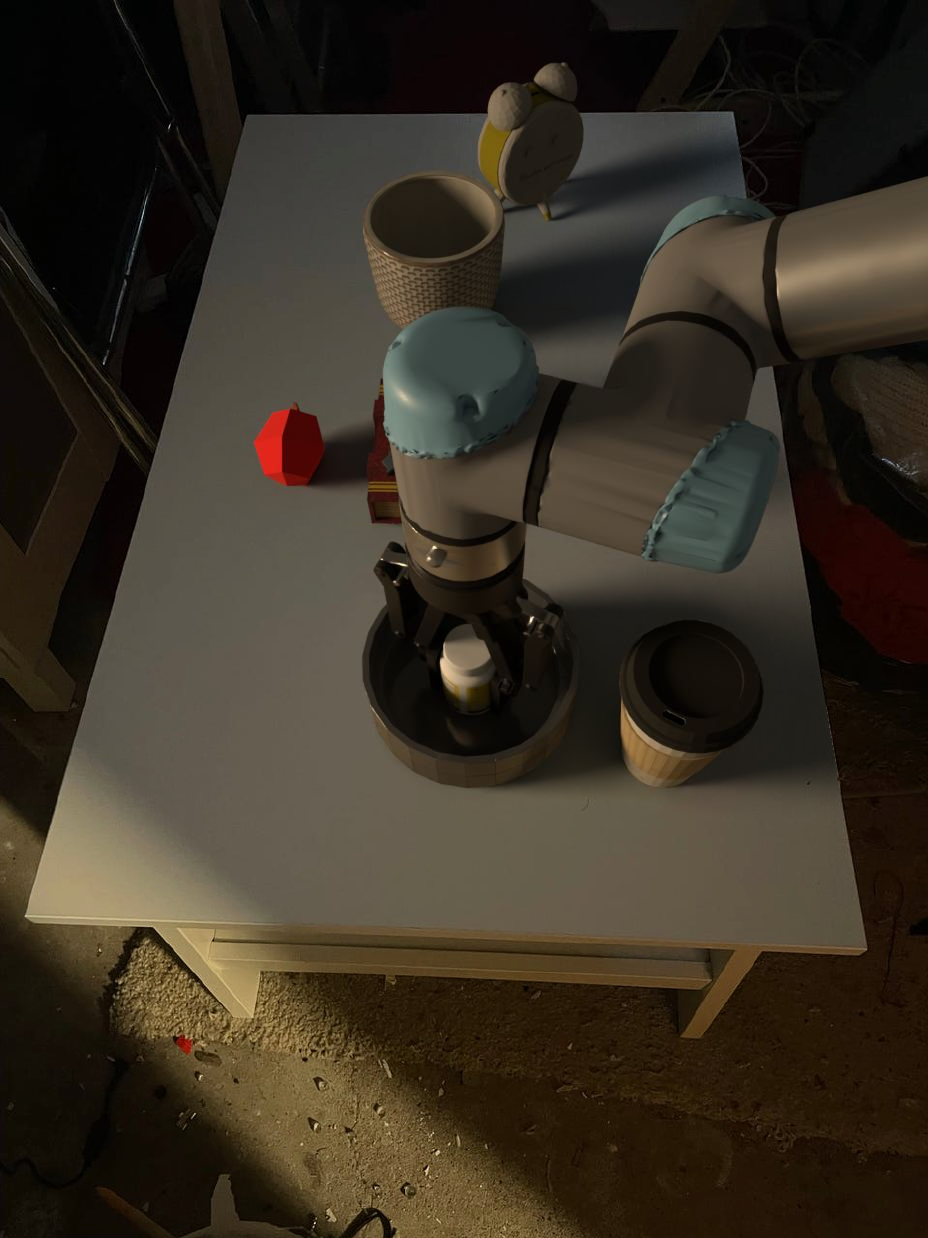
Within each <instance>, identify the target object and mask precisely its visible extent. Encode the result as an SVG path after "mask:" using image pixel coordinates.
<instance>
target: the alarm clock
mask: <svg viewBox="0 0 928 1238" xmlns="http://www.w3.org/2000/svg"><path fill="white" fill-rule="evenodd" d="M577 94H578V83H577V77H576V76H575V74H574V71H572V70H571V69H570V68H569V64H568V63H567V62H566V61H564V62H560V63H559V62H551V63H548V64H546V65H544V66H543V67H542V68H541V69H539V70H538V72H536V74H535V76H534V78H533V81H532V82H530V81H529V82H526V83H523V84H521V83H518V82H512V81H511V82H505V83H503V84H501V85H499V86H498V87H497V88H495V90H494V91H492V94H491V95H490V98H489V100H488V105H487V117H486V119H485V121H484V122H483V126H482V129H481V132H480V134H479V137H478V143H477V162H478V166H479V169H480V173H481V174H482V175H483V177H484V178H485V180H486V182H488V183H489V185H491V186H492V187H493V189H494V192H495V193H496V195H497V196H498V198H499V199H500V201H501V204H502V203H503V202H504V201H505V200H507V201H509V202H511V203H513V204H516V205H518V206H530V205H531V206H532V205H537V206H538V208H539V210H540V212H541V214H542V216H543V217H544V220H545V221H550V220H551V219H552V213H551V211H552V210H551V208H550V201H549V197H551V196H552V195H554V194H555V193H556V192H558V191H559V189H560V188H561V187H562V186H563V185H564V184H565V183H566V181H567V180H568V179H569V177H570V176H571V174H572V173H573V170H574V169H575V168H576V165H577V163H578V161H579V159H580V156H581V152H582V149H583V145H584V136H585V135H584V134H585V133H584V131H585V129H584V123H583V122H584V121H583V118H582V116H581V113H580V112H579V110H578V108H576V106H575V105H574V104H573V102H575V101H576V98H577ZM502 205H503V204H502Z"/></svg>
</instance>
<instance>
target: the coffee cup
mask: <svg viewBox="0 0 928 1238" xmlns="http://www.w3.org/2000/svg"><path fill="white" fill-rule="evenodd" d="M618 677H619V678H618V679H619V680H618V681H619V693H620V697H621V705H620V706H621V707H620V740H621V756H622V759H623V763H624V764H625V766H626V769H627V770H628V771H629V772H630V774H631V775H632V776H633V777H634V778H635V779H636V780H638V781H640V782H641V783H643V784H645V785H647V786H650V787H654V788H660V789H661V788H662V789H667V788H673V787H676V786H678V785H681V784H682V783H684V782H685V781H687V780H688V779H689V778H691V776H693V775H695V774H697V773H698V772H700V771H701V770H702V769H704V767H706V765H708V764H709V763H710V762H711V761H713V760H714V759H715V758H716V757H717V756H719V755H720V754H721V753H722V752H723V751H725V750H726V749H728V748H731V747H732V746H734V745H735V744H738V743H739V742H740V741H742V740H743V739H744V738H745V737H747V735H748V734H749V733H750V732H751V731H752V730H753V728H754V726H755V725H756V723H757V721H758V720H759V717H760V714H761V711H762V709H763V703H764V685H763V677H762V675H761V672H760V669H759V666H758V664H757V661H756V660H755V658H754V656H753V654H752V652H751V651H750V649H749V647H747V646H746V644H745V643H744V642H743V641H742V640H741V639H740V638H738V637H737V636H736V635H735V634H734V633H733V632H732V631H729V630H727V629H726V628H724V627H722V626H721V625H718V624H715V623H713V622H709V621H706V620H701V619H681V620H675V621H674V620H673V621H671V622H667V623H664V624H662V625H658V626H656V627H654V628H652V629H651V630H649V631H647V632H645V633H644V634H642V635H641V637H639V638H638V639H637V640H636V641H635V642H634V643H633V644H632V646H631V647H630V648H629V650H628V651H627V653H626V654H625V656H624V659H623V661H622V664H621V666H620V671H619V676H618Z"/></svg>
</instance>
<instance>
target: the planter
mask: <svg viewBox="0 0 928 1238" xmlns="http://www.w3.org/2000/svg"><path fill="white" fill-rule="evenodd" d="M504 211H505V210H504V207H503V204H501V201H500V199H499V198H498V196H497V195H496V193H495V190H493V189H492V188H491V187H490V186H489V185H487V184H486V183H484V182H483V181H482V180H479V179H477V178H475V177H473V176H470V175H468V174H465V173H461V172H457V171H450V170H423V171H418V172H412V173H409V174H405V175H402V176H401V177H397V178H394V179H393V180H392V181H389V182H388V183H386V184H385V185H383V186H382V187H380V188H379V189H378V190H377V191H376V192H375V193H374V194H373V195H372V196H371V198H370V199H369V201H368V202H367V203H366V206H365V208H364V211H363V216H362V232H363V233H362V234H363V238H364V243H365V248H366V252H367V256H368V261H369V266H370V271H371V274H372V278H373V282H374V286H375V289H376V292H377V295H378V298H379V301H380V303H381V305H382V307H383V309H384V311H385V313H386V314H387V316H388V317H389V318H390V320H391V321H392V322H393V323H394V324H395V325H396V326H397V327H398V328H400V329H401V330H403V329H405V328H406V327H407V326H408V325H409V324H411V323H412V322H414V321H415V320H416V319H418V318H420V317H422V316H424V315H426V314H429V313H431V312H434V311H437V310H441V309H445V308H450V307H460V306H467V307H478V308H483V309H488V310H491V311H492V308H493V306H494V303H495V302H496V298H497V295H498V291H499V285H500V281H501V272H502V264H503V254H504V242H505V241H504V240H505V232H506V231H505V229H506V228H505V227H506V217H505V212H504Z"/></svg>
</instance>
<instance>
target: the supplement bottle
mask: <svg viewBox="0 0 928 1238" xmlns="http://www.w3.org/2000/svg"><path fill="white" fill-rule="evenodd" d="M440 667H441V674H442V682H443V689H444V695H445V698H446V701H447V702H448V704H449V705H450V706H451V707H452V708H453V709H454V710H455V711H457V712H459V713H462V714H465V715H478V714H482V713H484V712H486V711H488V710H489V709H490V708H491V680H492V678H493V676H494V674H495V672H496V668H495V665H494V663H493V661H492V658H491V656H490V654H489V651H488V649H487V647H486V644H485V642H484V641H483V640H479V639H478V638H477V636H476V634H475V632H474V630H473V627H472V625H471V624H464V625H460V626H458V627H456V628H454V629H453V630H452V631H450V632H449V634H448V635H447V637H446V638H445V641H444V646H443V650H442V653H441V657H440Z"/></svg>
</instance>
